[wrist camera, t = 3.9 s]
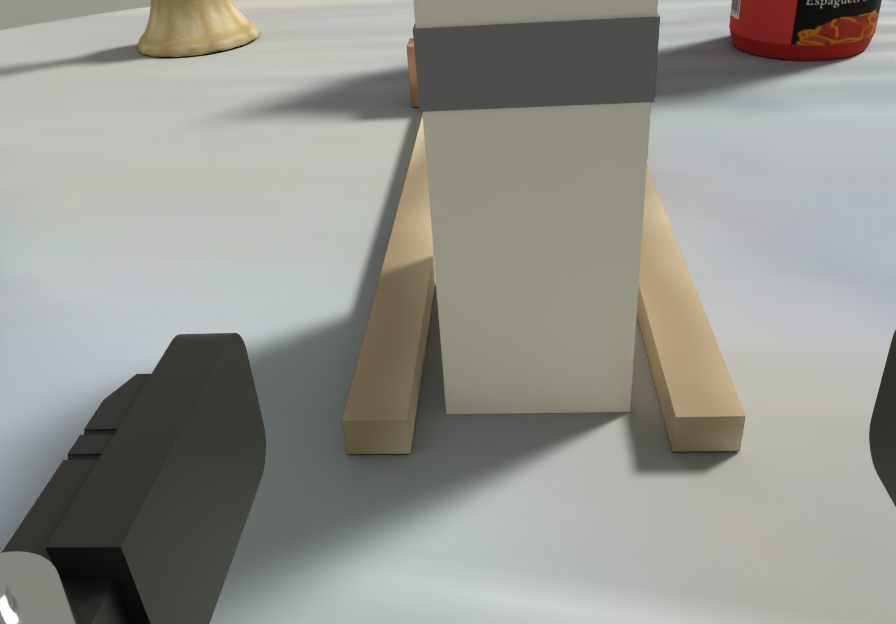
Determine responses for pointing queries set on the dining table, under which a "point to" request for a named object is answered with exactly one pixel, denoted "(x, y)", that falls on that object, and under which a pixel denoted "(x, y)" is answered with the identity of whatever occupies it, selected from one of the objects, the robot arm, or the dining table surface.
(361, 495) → the dining table surface
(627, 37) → the block
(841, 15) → the canned food
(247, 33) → the hand bell
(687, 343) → the wooden rail channel
